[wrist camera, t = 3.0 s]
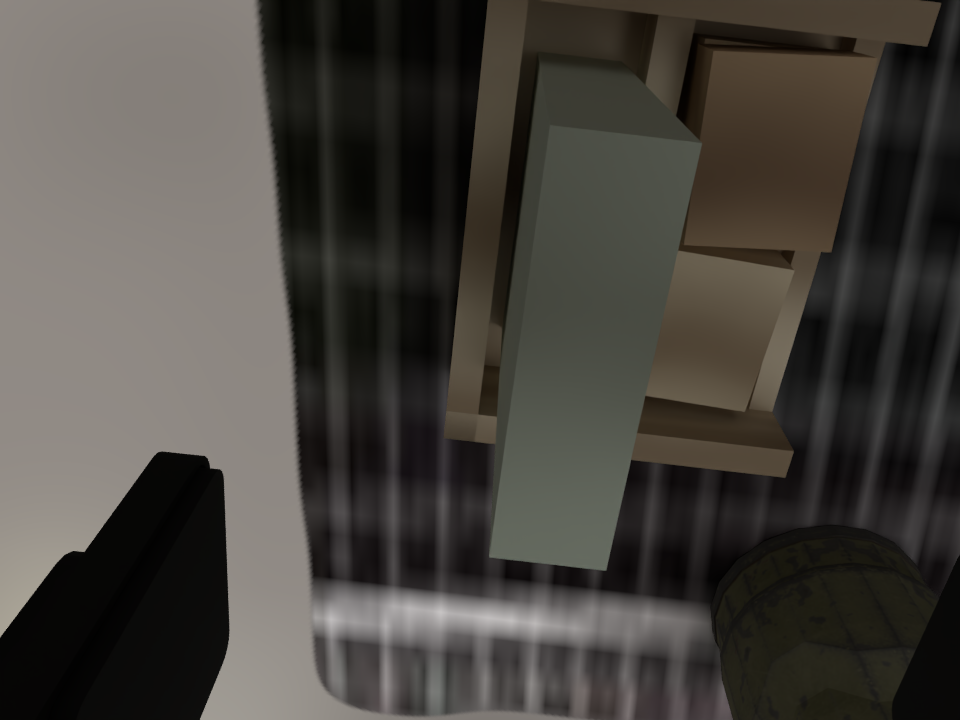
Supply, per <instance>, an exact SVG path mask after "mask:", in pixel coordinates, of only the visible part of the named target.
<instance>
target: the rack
mask: <svg viewBox="0 0 960 720" xmlns="http://www.w3.org/2000/svg"><path fill="white" fill-rule="evenodd" d="M940 6H941V3H937V2H929V1H920V0H488V6H487V16H486V25H485V35H484V45H483V55H482V65H481V75H480V85H479V95H478V104H477V114H476V124H475V134H474V144H473V154H472V164H471V174H470V183H469V193H468V203H467V213H466V223H465V233H464V243H463V253H462V262H461V272H460V282H459V292H458V302H457V312H456V322H455V331H454V341H453V351H452V361H451V371H450V381H449V391H448V401H447V410H446V420H445V430H444V438H448V439H457V440H465V441H474V442H483V443H491V444H496V426H497V409H498V391H499V373H500V356H501V338H502V325H503V317H504V309H505V302H506V294H507V286H508V279H509V271H510V263H511V255H512V248H513V240H514V232H515V225H516V217H517V209H518V201H519V194H520V186H521V178H522V171H523V163H524V155H525V147H526V140H527V132H528V124H529V117H530V109H531V101H532V93H533V86H534V78H535V70H536V63H537V55H538V52H547V53H555V54H564V55H572V56H581V57H589V58H597V59H606V60H614V61H622V62H623V63H624V64H625V65H626V66H627V67H628V68H629V69H630V70H631V71H632V72H633V73H634V74H635V75H636V76H637V77H638V78H639V79H640V80H641V81H642V82H643V83H644V84H645V85H646V86H647V87H648V88H649V89H650V90H651V91H652V92H653V94H654V95H655V96H656V97H657V98H658V99H659V100H660V101H661V102H662V103H663V104H664V105H665V106H666V107H667V108H668V109H669V110H670V111H671V112H672V113H673V114H674V115H675V116H676V114H677V109H678V104H679V99H680V94H681V90H682V85H683V80H684V75H685V70H686V66H687V61H688V56H689V51H690V46H691V41H692V37H693V33H699V34H708V35H716V36H725V37H733V38H741V39H750V40H758V41H767V42H775V43H784V44H792V45H801V46H809V47H817V48H826V49H838V50H850V51H854V52H857V53H861V54H865V55H868V56H872V57H876V58H877V62H876V66H875V70H874V74H873V78H872V83H871V87H870V91H871V88H872V85H873V82H874V78H875V75H876V72H877V68H878V65H879V62H880V59H881V55H882V52H883V49H884V46H885V42H893V43H901V44H910V45H918V46H927V45H928V42H929V39H930V36H931V33H932V30H933V27H934V24H935V21H936V18H937V15H938V12H939V9H940ZM870 91H869V95H870ZM869 95H868V98H869ZM867 101H868V99H867ZM777 251H778V252H779V253H780V254H781V255H782V256H783V257H784V259H785V260H786V261H787V262H788V263H789V264H790V265H791V266H792V268H793V269H794V270H795V271H794V274H793V277H792V280H791V283H790V286H789V288H788V291H787V294H786V297H785V300H784V303H783V305H782V308H781V311H780V314H779V317H778V320H777V322H776V325H775V328H774V331H773V334H772V337H771V339H770V342H769V345H768V348H767V351H766V354H765V356H764V359H763V362H762V365H761V368H760V371H759V373H758V376H757V379H756V382H755V385H754V388H753V390H752V393H751V396H750V399H749V402H748V405H747V407H746V410H745V412H742V411H736V410H730V409H724V408H718V407H711V406H705V405H699V404H693V403H687V402H681V401H675V400H669V399H663V398H657V397H651V396H645V400H644V404H643V409H642V413H641V417H640V422H639V426H638V431H637V435H636V440H635V444H634V449H633V453H632V457H631V460H638V461H646V462H655V463H663V464H672V465H681V466H689V467H698V468H707V469H715V470H724V471H732V472H741V473H750V474H758V475H767V476H775V477H784V478H785V477H786V474H787V471H788V468H789V465H790V462H791V458H792V455H793V452H794V451H793V449H792V447H791V445H790V443H789V442H788V440H787V438H786V436H785V434H784V433H783V431H782V429H781V427H780V425H779V424H778V422H777V420H776V418H775V416H774V415H773V413H772V410H773V407H774V404H775V400H776V397H777V394H778V391H779V387H780V384H781V381H782V378H783V374H784V371H785V368H786V365H787V361H788V358H789V355H790V352H791V348H792V345H793V342H794V339H795V335H796V332H797V329H798V326H799V322H800V319H801V316H802V313H803V309H804V306H805V303H806V300H807V296H808V293H809V290H810V287H811V283H812V280H813V277H814V274H815V270H816V267H817V264H818V261H819V257H820V254H821V252H813V251H793V250H777Z"/></svg>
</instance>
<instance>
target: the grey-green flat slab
mask: <svg viewBox="0 0 960 720" xmlns="http://www.w3.org/2000/svg"><path fill="white" fill-rule="evenodd" d="M701 146H702V142H701V141H700V140H699V139H698V138H697V137H696V136H695V135H694V134H693V133H692V132H691V131H690V130H689V129H688V128H687V127H686V126H685V125H684V124H683V123H682V122H681V121H680V120H679V119H678V118H677V117H676V116H675V115H674V114H673V113H672V112H671V111H670V110H669V109H668V108H667V107H666V106H665V105H664V104H663V103H662V102H661V101H660V100H659V99H658V98H657V97H656V96H655V95H654V94H653V92H652V91H651V90H650V89H649V88H648V87H647V86H646V85H645V84H644V83H643V82H642V81H641V80H640V79H639V78H638V77H637V76H636V75H635V74H634V73H633V72H632V71H631V70H630V69H629V68H628V67H627V66H626V65H625V64H624V63H623V62H622V61H614V60H606V59H597V58H589V57H581V56H572V55H564V54H555V53H547V52H538V55H537V63H536V70H535V78H534V86H533V93H532V101H531V109H530V117H529V124H528V132H527V140H526V147H525V155H524V163H523V171H522V178H521V186H520V194H519V201H518V209H517V217H516V225H515V232H514V240H513V248H512V255H511V263H510V271H509V279H508V286H507V294H506V302H505V309H504V317H503V325H502V338H501V356H500V373H499V391H498V409H497V426H496V444H495V461H494V479H493V496H492V514H491V532H490V549H489V557H491V558H500V559H509V560H517V561H526V562H535V563H543V564H552V565H561V566H569V567H578V568H587V569H595V570H604V571H606V569H607V564H608V560H609V555H610V551H611V546H612V542H613V538H614V533H615V529H616V524H617V520H618V515H619V511H620V506H621V502H622V497H623V493H624V489H625V484H626V480H627V475H628V471H629V466H630V462H631V457H632V453H633V449H634V444H635V440H636V435H637V431H638V426H639V422H640V417H641V413H642V409H643V404H644V400H645V395H646V391H647V386H648V382H649V377H650V373H651V369H652V364H653V360H654V355H655V351H656V346H657V342H658V337H659V333H660V329H661V324H662V320H663V315H664V311H665V306H666V302H667V297H668V293H669V288H670V284H671V280H672V275H673V271H674V266H675V262H676V257H677V253H678V248H679V244H680V240H681V235H682V231H683V226H684V222H685V217H686V213H687V208H688V204H689V200H690V195H691V191H692V186H693V182H694V177H695V173H696V168H697V164H698V160H699V155H700V151H701Z"/></svg>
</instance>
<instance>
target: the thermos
mask: <svg viewBox="0 0 960 720" xmlns="http://www.w3.org/2000/svg"><path fill="white" fill-rule="evenodd" d="M938 600H939V597H938V596H937V595H936V594H935V593H934V592H933V591H932V590H931V589H930V588H929V587H928V586H927V585H926V584H925V582H924V580H923V578H922V575H921V573H920V571H919V569H918V568H917V566H916V565H915V563H914V562H913V561H912V560H911V559H910V558H909V557H908V556H907V555H906V554H905V553H904V552H903V551H902V550H901V549H900V548H899V547H898V546H897V545H896V544H895V543H894V542H892V541H889V540H887V539H885V538H883V537H881V536H878V535H876V534H874V533H872V532H870V531H867V530H864V529H856V528H849V527H842V526H835V525H829V526H820V527H811V528H802V529H796V530H793V531H791V532H788V533H785V534H782V535H780V536H777V537H774V538H771V539H769V540H766V541H764V542H762V543H761V544H759V545H758V546H756V547H755V548H754V549H752V550H751V551H749V552H748V553H746V554H745V555H743V556H742V557H740V558H739V559H738V560H737V561H736V562H735V563H734V564H733V566H732V567H731V568H730V569H729V571H728V572H727V573H726V574H725V576H724V577H723V578H722V579H721V581H720V582H719V584H718V587H717V590H716V593H715V596H714V598H713V601H712V604H711V618H712V631H713V634H714V638H715V641H716V643H717V645H718V647H719V649H720V652H721V654H720V657H721V671H722V681H723V685H724V688H725V692H726V696H727V699H728V703H729V706H730V710H731V714H732V717H733V720H893V719H892V702H893V699H894V696H895V694H896V692H897V690H898V688H899V685H900V683H901V681H902V679H903V677H904V674H905V672H906V670H907V668H908V666H909V664H910V661H911V659H912V657H913V655H914V653H915V650H916V648H917V646H918V644H919V642H920V640H921V637H922V635H923V633H924V631H925V629H926V626H927V624H928V622H929V620H930V618H931V616H932V613H933V611H934V609H935V607H936V605H937V602H938Z"/></svg>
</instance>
